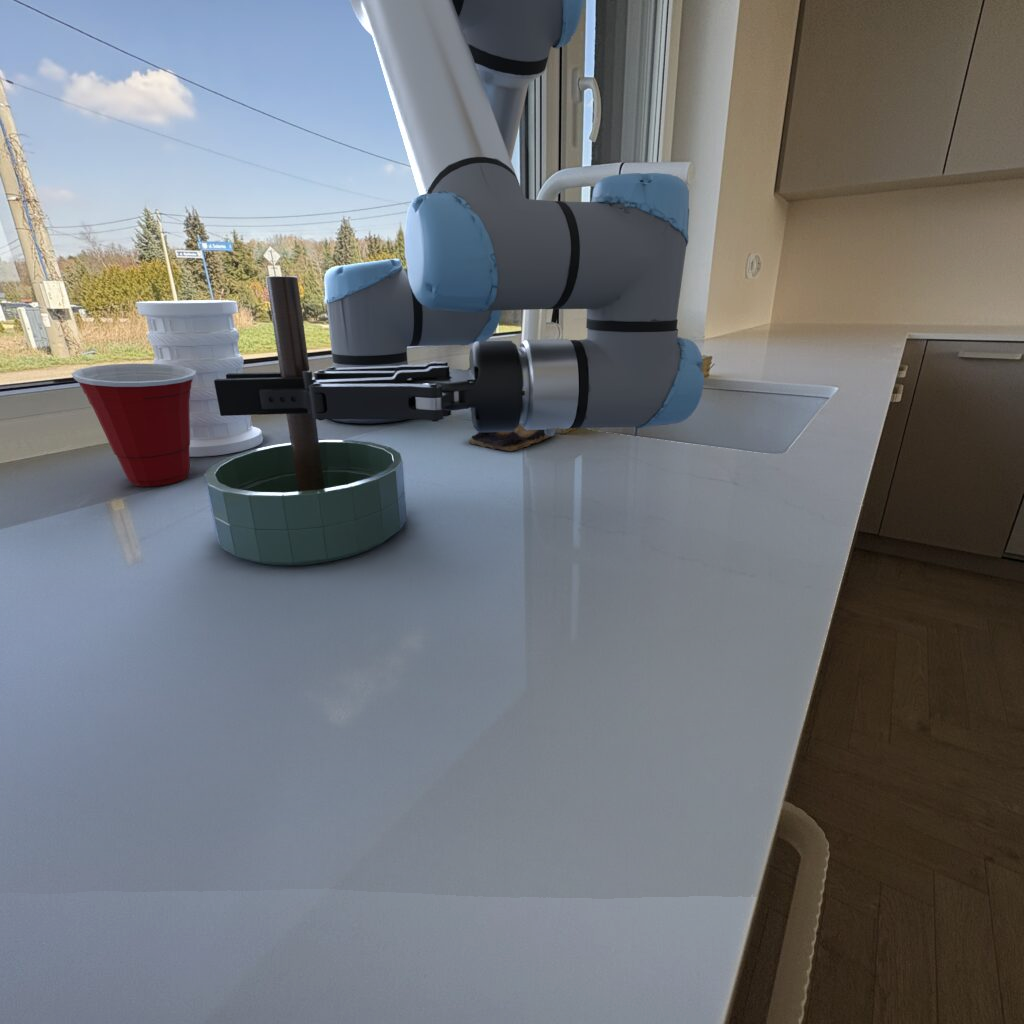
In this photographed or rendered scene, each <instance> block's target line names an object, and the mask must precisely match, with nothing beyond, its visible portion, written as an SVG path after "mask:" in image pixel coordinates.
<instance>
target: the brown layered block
mask: <svg viewBox="0 0 1024 1024" xmlns="http://www.w3.org/2000/svg"><path fill="white" fill-rule="evenodd" d="M551 437H554V435H552V436H551V435H546V434H545V431H544V430H525V429H524V427H523V426H522V425H521V423H519V426H518V427H517V429H515V430H514V431H509V432H478V431H477V433H476V434H474V435H472V436H471V438H470V439H468V442H469V444H471V445H477V446H480V447H484V448H486V447H488V448H490V449H492V450H496V449H497V450H501V451H506V452H510V453H511V452H513V451H517V450H521V449H523V448H524V447H527V448H528V447H529V446H530V445H531V444H537V443H540V442H542V441H543V440H547V439H548V438H551Z"/></svg>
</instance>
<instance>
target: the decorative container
mask: <svg viewBox="0 0 1024 1024" xmlns="http://www.w3.org/2000/svg"><path fill="white" fill-rule="evenodd" d="M135 303H136V308H137V312H138V313H137V314H138V315H140V316H143V317H145V319H146V324H147V327H148V331H147V336H146V338H147V340H148V342H149V345H151V346H152V349H153V354H154V358H153V364H163V365H176V366H181V367H186V368H190V369H192V370H194V371H196V375H195V377H194V379H193V380H192V383H191V390H190V399H189V411H190V446H189V455H190V457H192V458H193V457H194V458H195V457H196V458H198V457H200V458H201V457H213V456H223V455H230V454H234V453H239V452H244V451H248V450H251V449H254V448H255V447H257V446H259V445H261V444H263V441H264V438H263V431H262V430H261V429H260V428H259V427H256V426H253V421H252V418H251V417H252V415H233V416H221V415H220V410H219V404H218V399H217V394H216V389H215V384H214V380H216V379H226V374H228V373H244V371H243V367H244V361H245V360H244V357H243V355H242V354H241V353H240V349H239V343H238V342H240V332H239V330H238V329H237V328H236V326H235V325H236V324H235V320H234V315H235V314H237V313H238V312H239V307H238V302H237V301H236V300H225V299H224V300H223V299H221V300H219V299H218V300H217V299H216V300H215V299H214V300H211V299H210V300H208V299H207V300H206V299H205V300H203V299H201V300H197V299H196V300H195V299H194V300H193V299H192V300H152V301H151V300H149V301H136V302H135Z"/></svg>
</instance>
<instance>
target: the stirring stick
mask: <svg viewBox="0 0 1024 1024" xmlns="http://www.w3.org/2000/svg"><path fill="white" fill-rule="evenodd" d="M265 278H266V280H265V281H266V286H267V293H268V301H269V307H270V313H271V320H272V326H273V327H272V328H273V335H274V340H275V347H276V354H277V359H278V360H277V361H278V367H279V372H280V374H281V377H303V374H302V371H307V370H310V364H309V356H308V347H307V339H306V332H305V325H304V324H305V323H304V317H303V309H302V301H301V295H300V294H301V293H300V287H299V286H300V285H299V280H298V277H297V276H292V275H291V276H288V275H286V276H285V275H284V276H280V275H279V276H278V275H277V276H275V275H273V276H270V275H269V276H268V275H267V276H266V277H265ZM286 421H287V427H288V434H289V442H290V443H291V448H292V454H293V461H294V468H295V475H296V481H297V488H298V492H299V491H311V490H320V489H325V485H324V478H323V470H322V462H321V455H320V447H319V440H320V439H319V433H318V424H317V420H315V419H313V417H312V414H308V413H299V414H286Z"/></svg>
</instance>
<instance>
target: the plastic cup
mask: <svg viewBox="0 0 1024 1024" xmlns="http://www.w3.org/2000/svg"><path fill="white" fill-rule="evenodd" d="M70 374H71V376H72V378H73V380H75V382H77V383H78V385H79V386H80V387H81V388H82V391H83V394H84V395H85V396H86V398H87V401H88V403H89V404H90V405H91V407H92V409H93V412H94V414H95V416H96V417H97V420H98V422H99V425H101V426H100V427H101V428H102V430H103V433H104V434H105V436H106V439H107V441H108V443H109V446H110V447H111V450H112V452H113V454H114V455H115V456H116V458H117V460H118V462H119V464H120V466H121V468H122V472H123V473H124V475H125V477H126V478H127V479H128V481H129V483H130V484H131V485H132V486H135V487H143V488H144V487H148V488H149V487H157V486H158V487H160V486H165V485H170V484H174V483H175V484H176V483H177V482H180V481H183V480H185V479H186V478H188V477H189V476H190V469H191V460H190V459H191V458H190V455H189V446H190V411H189V399H190V390H191V383H192V380H193V379H194V377H195V375H196V371H194V370H192V369H190V368H186V367H181V366H176V365H163V364H154V363H115V364H114V363H113V364H111V363H110V364H103V365H93V366H88V367H83V368H79V369H76V370H74V371H73V372H71V373H70Z"/></svg>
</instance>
